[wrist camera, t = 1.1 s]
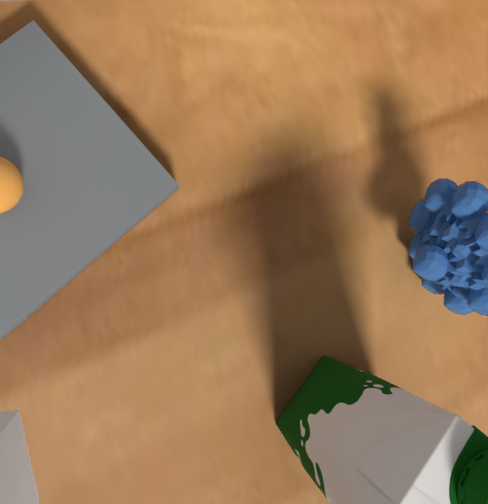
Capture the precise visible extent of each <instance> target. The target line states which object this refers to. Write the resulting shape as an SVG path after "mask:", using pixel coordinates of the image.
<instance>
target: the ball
mask: <svg viewBox="0 0 488 504" xmlns="http://www.w3.org/2000/svg"><path fill="white" fill-rule="evenodd" d="M23 188H24V184H23V179H22V176H21V174H20V172H19V170H18V169H17V168H16V167H15V166H14V165H13V164H12V163H11V162H10V161H8V160H7V159H5V158H3V157H0V213H3V212H6V211H8V210H10V209H11V208H13V207H14V206H15V205H16V204H17V203H18V202H19V200H20V199H21V196H22V194H23Z"/></svg>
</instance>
